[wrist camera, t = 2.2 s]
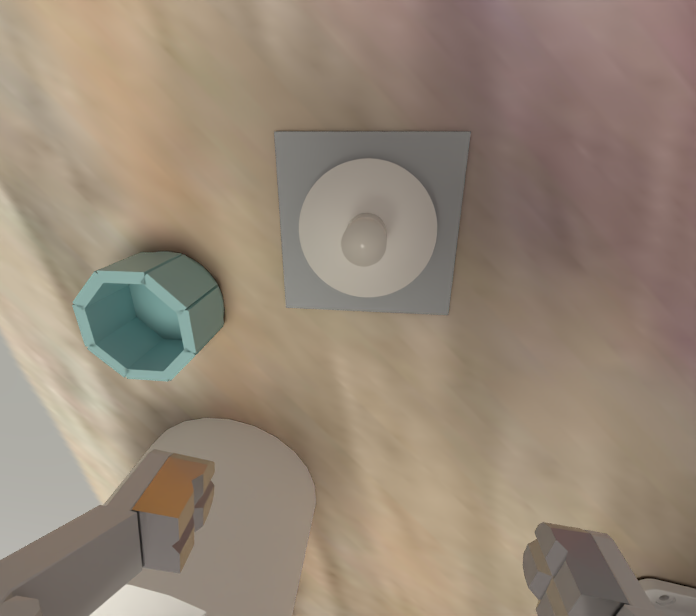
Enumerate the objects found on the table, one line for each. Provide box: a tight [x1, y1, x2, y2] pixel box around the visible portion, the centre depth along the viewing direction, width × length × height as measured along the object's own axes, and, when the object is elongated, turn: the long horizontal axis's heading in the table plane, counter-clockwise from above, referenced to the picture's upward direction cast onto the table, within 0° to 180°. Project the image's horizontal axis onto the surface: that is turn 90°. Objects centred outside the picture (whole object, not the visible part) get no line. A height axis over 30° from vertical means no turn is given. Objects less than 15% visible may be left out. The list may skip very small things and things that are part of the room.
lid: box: [299, 158, 437, 297], centre depth 23 cm, size 9×9×4 cm
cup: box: [72, 251, 225, 381], centre depth 27 cm, size 8×8×5 cm
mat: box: [274, 132, 471, 315], centre depth 25 cm, size 12×12×1 cm
